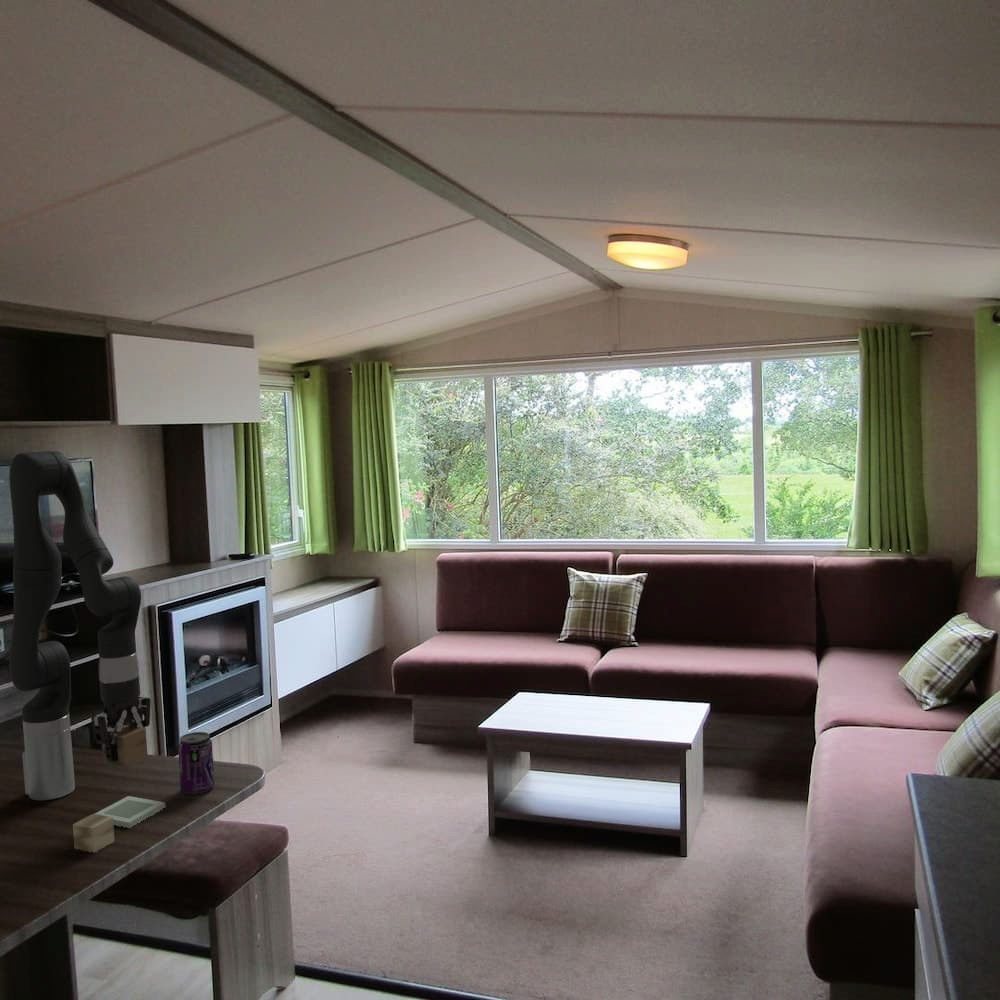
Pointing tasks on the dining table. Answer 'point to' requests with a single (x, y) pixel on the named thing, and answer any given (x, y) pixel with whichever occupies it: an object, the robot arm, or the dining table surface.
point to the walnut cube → (129, 746)
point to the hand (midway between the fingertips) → (125, 755)
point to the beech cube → (93, 833)
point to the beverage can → (196, 763)
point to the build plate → (131, 811)
